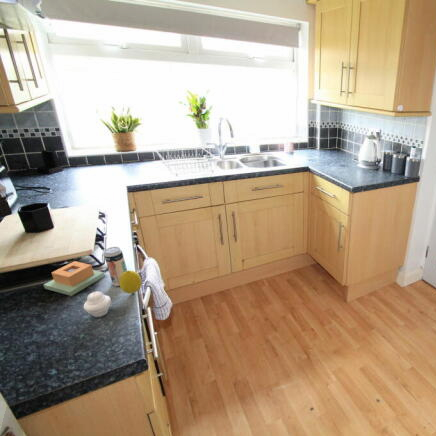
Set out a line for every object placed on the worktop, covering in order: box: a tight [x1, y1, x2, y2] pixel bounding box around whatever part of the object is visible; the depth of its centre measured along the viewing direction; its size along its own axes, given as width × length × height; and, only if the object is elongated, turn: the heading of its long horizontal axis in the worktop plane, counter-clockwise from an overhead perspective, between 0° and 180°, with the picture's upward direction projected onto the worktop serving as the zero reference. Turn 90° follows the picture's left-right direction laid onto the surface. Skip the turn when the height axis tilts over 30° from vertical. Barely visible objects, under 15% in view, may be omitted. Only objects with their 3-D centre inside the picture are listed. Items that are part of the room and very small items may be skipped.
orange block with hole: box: [51, 260, 94, 286], centre depth 100 cm, size 7×7×4 cm
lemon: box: [119, 270, 142, 295], centre depth 95 cm, size 6×6×8 cm
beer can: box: [103, 246, 128, 287], centre depth 99 cm, size 5×5×12 cm
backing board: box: [43, 269, 106, 297], centre depth 100 cm, size 11×11×4 cm
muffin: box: [83, 291, 112, 318], centre depth 87 cm, size 6×6×7 cm
